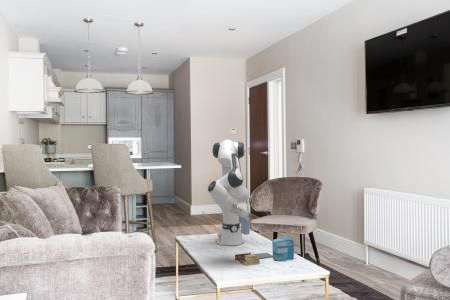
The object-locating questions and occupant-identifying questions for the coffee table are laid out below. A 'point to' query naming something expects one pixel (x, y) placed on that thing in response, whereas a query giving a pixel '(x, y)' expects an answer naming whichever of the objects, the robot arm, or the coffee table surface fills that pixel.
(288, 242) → the data package
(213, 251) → the coffee table surface
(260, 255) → the felt mat
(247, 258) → the offcut stack
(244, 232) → the pale blue pillar
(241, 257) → the rack
